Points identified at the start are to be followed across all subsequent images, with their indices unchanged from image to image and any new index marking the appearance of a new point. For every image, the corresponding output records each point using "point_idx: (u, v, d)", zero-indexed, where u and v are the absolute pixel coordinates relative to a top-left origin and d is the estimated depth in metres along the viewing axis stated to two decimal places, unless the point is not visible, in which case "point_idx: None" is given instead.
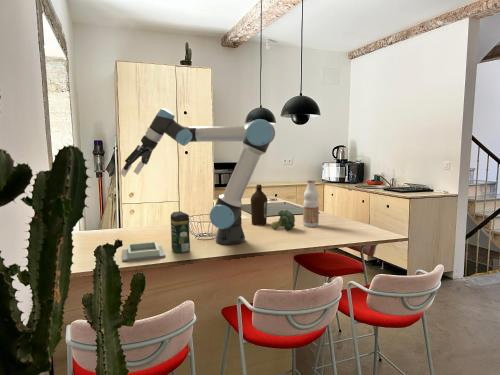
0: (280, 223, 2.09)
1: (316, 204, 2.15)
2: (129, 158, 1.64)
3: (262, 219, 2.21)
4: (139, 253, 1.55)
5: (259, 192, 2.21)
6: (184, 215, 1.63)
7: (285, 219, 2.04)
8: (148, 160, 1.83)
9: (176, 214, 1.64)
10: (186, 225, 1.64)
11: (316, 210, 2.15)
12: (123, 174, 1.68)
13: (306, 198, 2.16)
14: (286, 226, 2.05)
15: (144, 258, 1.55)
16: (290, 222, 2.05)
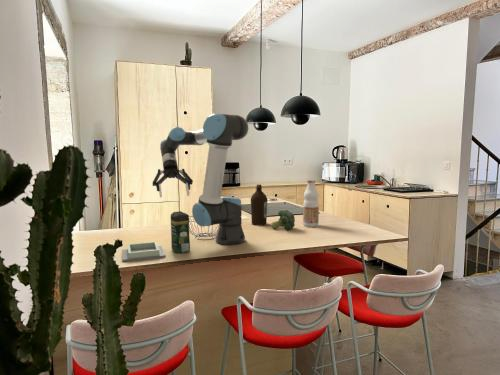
0: (280, 223, 2.09)
1: (316, 204, 2.15)
2: None
3: (262, 219, 2.21)
4: (139, 253, 1.55)
5: (259, 192, 2.21)
6: (184, 215, 1.63)
7: (285, 219, 2.04)
8: (191, 179, 1.85)
9: (176, 214, 1.64)
10: (186, 225, 1.64)
11: (316, 210, 2.15)
12: (160, 194, 1.76)
13: (306, 198, 2.16)
14: (286, 226, 2.05)
15: (144, 258, 1.55)
16: (290, 222, 2.05)
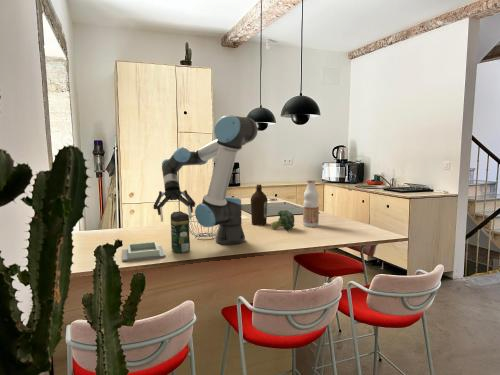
0: (280, 223, 2.09)
1: (316, 204, 2.15)
2: None
3: (262, 219, 2.21)
4: (139, 253, 1.55)
5: (259, 192, 2.21)
6: (184, 215, 1.63)
7: (285, 219, 2.04)
8: (193, 202, 1.78)
9: (176, 214, 1.64)
10: (186, 225, 1.64)
11: (316, 210, 2.15)
12: (161, 218, 1.68)
13: (306, 198, 2.16)
14: (286, 226, 2.05)
15: (144, 258, 1.55)
16: (290, 222, 2.05)
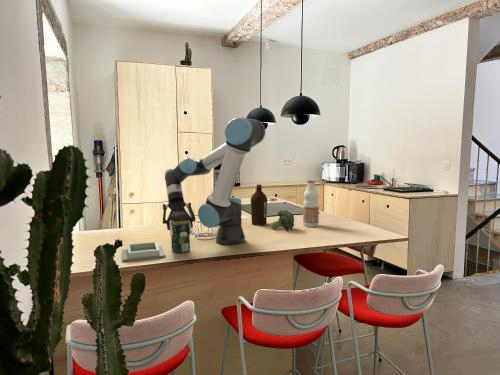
0: (279, 223, 2.09)
1: (316, 204, 2.15)
2: None
3: (262, 219, 2.21)
4: (139, 253, 1.55)
5: (259, 192, 2.21)
6: (184, 215, 1.63)
7: (284, 219, 2.04)
8: (194, 216, 1.71)
9: (176, 214, 1.64)
10: (186, 225, 1.64)
11: (316, 210, 2.15)
12: (170, 233, 1.63)
13: (306, 198, 2.16)
14: (285, 226, 2.05)
15: (144, 258, 1.55)
16: (289, 222, 2.05)
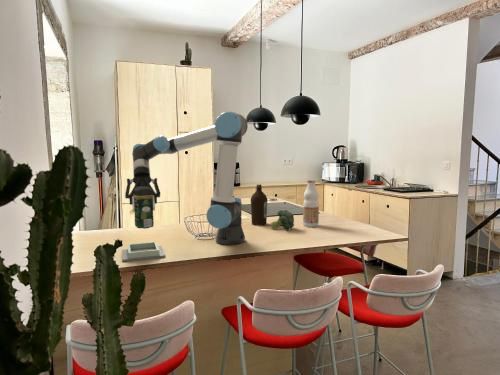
0: (279, 223, 2.09)
1: (316, 204, 2.15)
2: (125, 193, 1.61)
3: (262, 219, 2.21)
4: (139, 253, 1.55)
5: (259, 192, 2.21)
6: (147, 189, 1.57)
7: (284, 219, 2.04)
8: (159, 192, 1.64)
9: (138, 188, 1.58)
10: (148, 199, 1.58)
11: (316, 210, 2.15)
12: None
13: (306, 198, 2.16)
14: (285, 226, 2.05)
15: (144, 258, 1.55)
16: (289, 222, 2.05)
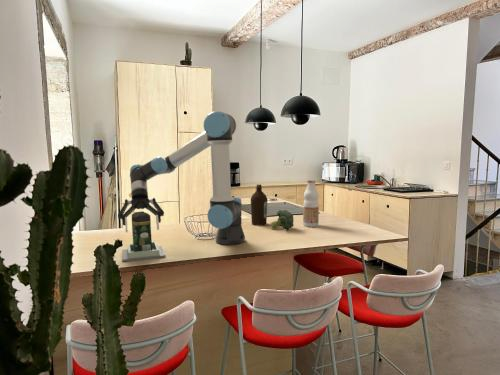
0: (279, 223, 2.10)
1: (316, 204, 2.15)
2: None
3: (262, 219, 2.21)
4: (139, 253, 1.55)
5: (259, 192, 2.21)
6: (144, 215, 1.57)
7: (284, 219, 2.04)
8: (162, 210, 1.66)
9: (136, 214, 1.58)
10: (146, 225, 1.58)
11: (316, 210, 2.15)
12: None
13: (306, 198, 2.16)
14: (285, 226, 2.05)
15: (144, 258, 1.55)
16: (289, 222, 2.05)
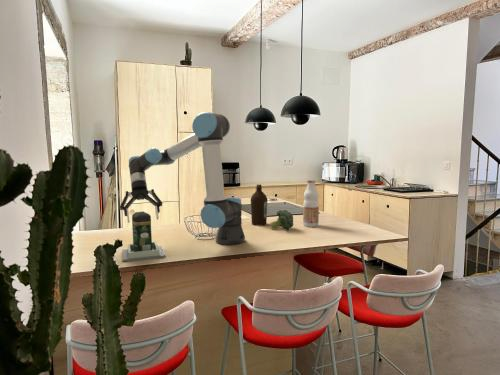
0: (278, 223, 2.10)
1: (316, 204, 2.15)
2: None
3: (262, 219, 2.21)
4: (139, 253, 1.55)
5: (259, 192, 2.21)
6: (145, 215, 1.57)
7: (284, 219, 2.04)
8: (160, 201, 1.79)
9: (136, 214, 1.58)
10: (147, 225, 1.58)
11: (316, 210, 2.15)
12: (127, 219, 1.70)
13: (306, 198, 2.16)
14: (285, 226, 2.05)
15: (144, 258, 1.55)
16: (289, 222, 2.05)
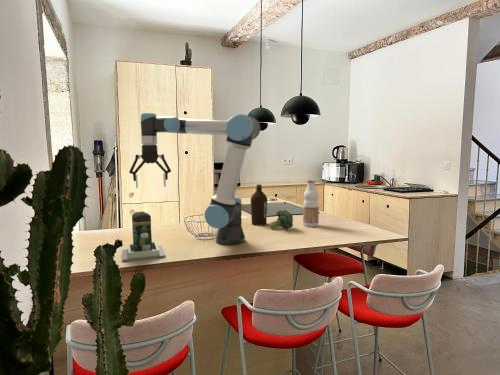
0: (278, 223, 2.10)
1: (316, 204, 2.15)
2: None
3: (262, 219, 2.21)
4: (139, 253, 1.55)
5: (259, 192, 2.21)
6: (145, 215, 1.57)
7: (283, 219, 2.04)
8: (169, 169, 1.81)
9: (136, 214, 1.58)
10: (147, 225, 1.58)
11: (316, 210, 2.15)
12: (136, 186, 1.77)
13: (306, 198, 2.16)
14: (284, 226, 2.05)
15: (144, 258, 1.55)
16: (288, 222, 2.06)
